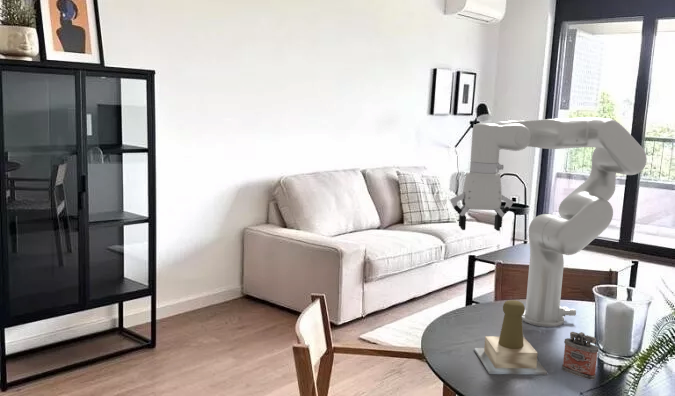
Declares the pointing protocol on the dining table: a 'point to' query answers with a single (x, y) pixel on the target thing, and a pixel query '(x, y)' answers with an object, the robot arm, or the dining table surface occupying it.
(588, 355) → the lighter
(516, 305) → the olive brown knobbed peg
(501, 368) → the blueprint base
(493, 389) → the dining table surface
